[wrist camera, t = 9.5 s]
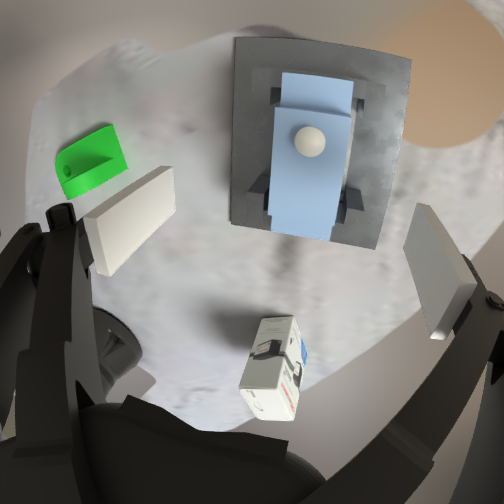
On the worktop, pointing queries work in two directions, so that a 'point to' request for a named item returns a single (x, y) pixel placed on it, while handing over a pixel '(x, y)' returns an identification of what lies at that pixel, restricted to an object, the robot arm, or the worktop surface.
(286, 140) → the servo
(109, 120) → the worktop surface
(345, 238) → the chassis pocket
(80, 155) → the mechanical part
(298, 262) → the worktop surface
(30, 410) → the robot arm
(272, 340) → the ink box
